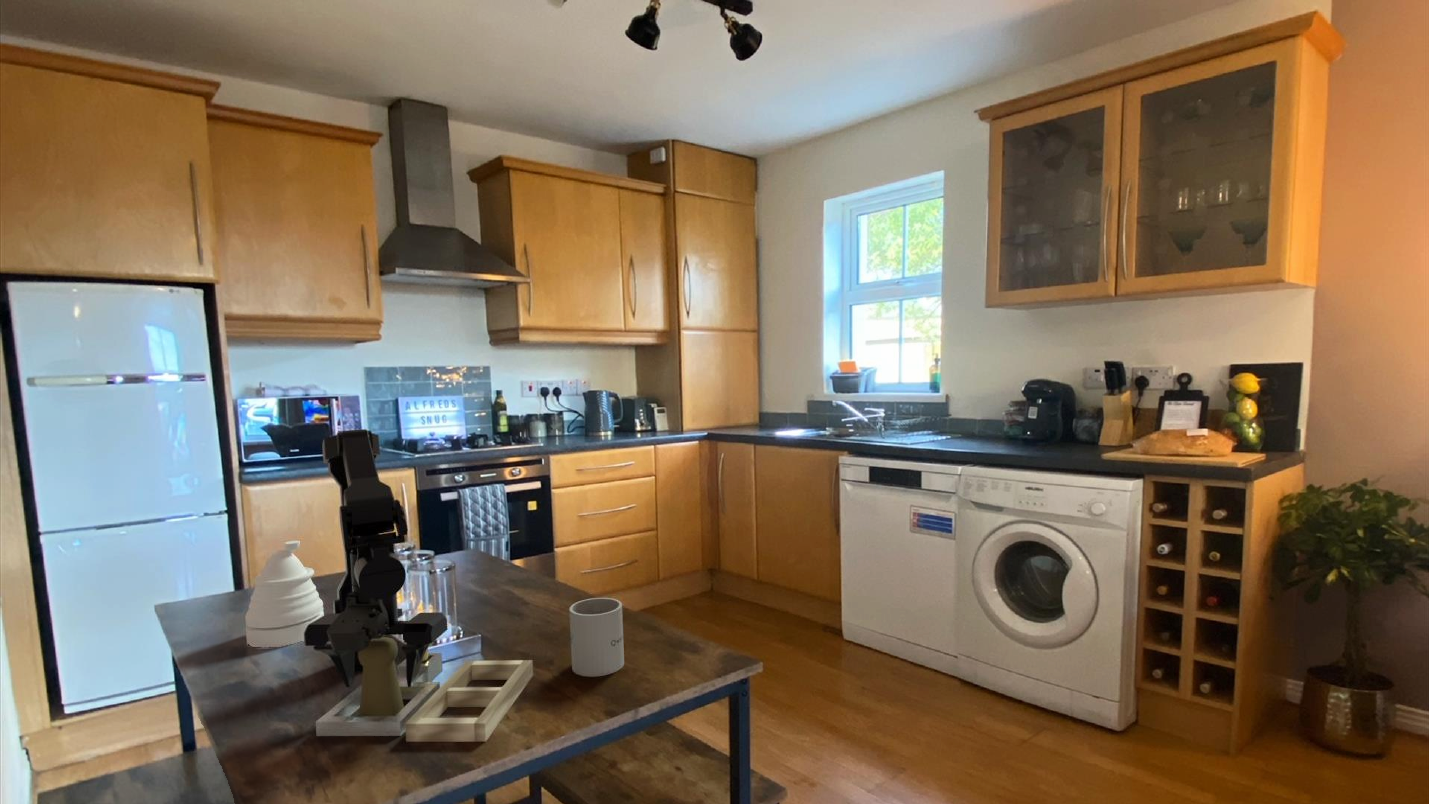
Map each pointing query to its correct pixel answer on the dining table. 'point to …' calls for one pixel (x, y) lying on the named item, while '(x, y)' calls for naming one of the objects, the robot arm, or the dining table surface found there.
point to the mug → (596, 636)
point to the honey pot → (282, 601)
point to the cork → (380, 679)
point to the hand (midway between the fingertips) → (380, 686)
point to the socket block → (347, 725)
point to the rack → (470, 702)
